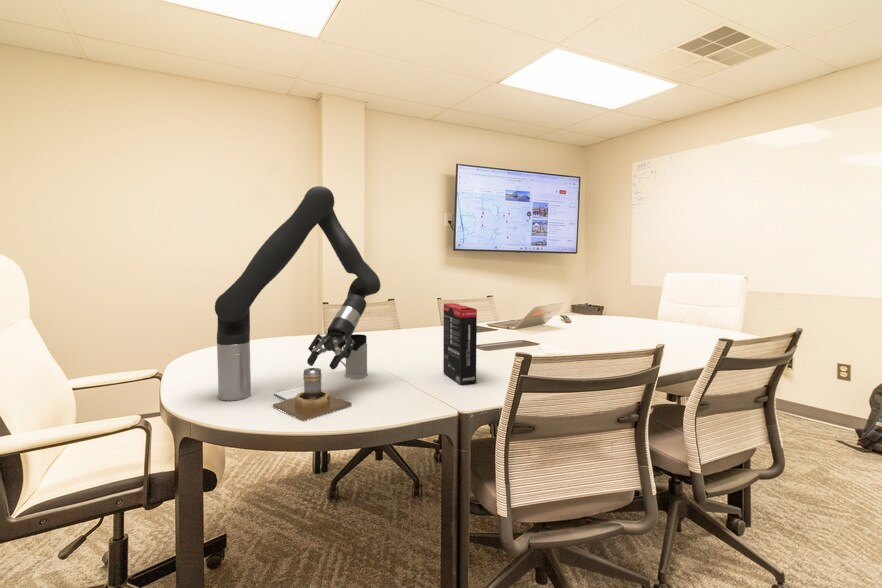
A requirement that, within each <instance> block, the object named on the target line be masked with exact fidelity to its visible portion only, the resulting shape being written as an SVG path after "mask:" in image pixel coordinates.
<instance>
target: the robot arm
mask: <svg viewBox="0 0 882 588" xmlns="http://www.w3.org/2000/svg"><path fill="white" fill-rule="evenodd" d="M334 207H335V197H334V194H333V192H332V191H331V190H330V188H328V187H326V186H321V185H318V186H312V187H311V188H309V189H308V190H307V192H306V193H305V194H304V196H303V199H302V200H301V202H300V203H299V205H297V208H296V209H295V210H294V212H292V214H291V215H290V216H289V218H287V219H286V221H284V222H283V223H282V224H280V226H279V227H278V228H277V229H276V230H275V231H274V232H272V234H271V235H269V236H268V238H267V239H266V240H265V241H264V243H262V245H261V246H260V248H258V250H257V251H256V253H254V255H253V257H252V259H250V261H249V263H248V265H247V266H246V268H245V269H244V271H243V272H242V274H241V275H240V276H239V277H238V278H237V279H236V280H235V281H234V282H233V283H232V284H231V285H230V286H229V287H228V288H227V289H226V290H225V291H224V292H223V293H222V294H220V295H219V296H218V297H217V299H216V300H215V302H214V311H215V314H216V315H217V329H216V330H217V331H216V350H217V351H216V352H217V353H216V354H217V355H216V356H217V387H218V390H217V391H218V399H219V400H221V401H225V400H227V401H239V400H240V401H241V400H244V399H246V398H249V397H251V395H252V386H251V385H252V384H251V383H252V379H251V378H252V377H251V375H252V373H251V343H250V342H251V339H250V337H251V335H250V334H251V317H250V315H251V313H250V312H251V311H250V310H251V309H250V308H251V306H252V304H253V303H254V301H255V300H256V298H258V295H260V294H261V292H262V290H263V289H265V287H266V286H267V285H268V284H270V283H271V281H273V280H274V279H275V278H276V277H277V276H278V275H279V274H280V273H281V272H282V271H283V270H284V268H285V267H286V266H287V265H288V263H289V262H290V261H291V260H292V259H293V258H294V257H295V255H296V254H297V252H298V251H299V249H300V248H301V246H302V245H303V243H304V242H305V240H306V239H307V237H308V235H309V234H310V232H311V231H312V230H313V229H314V228H315V227H316V226H317V225H318V226H319V228H320V229H321V231H322V232H323V234H324V235H325V237H326V239H327V240H328V242H329V243H330V246H331V248H332V249H333V251H334V253H335V254H336V257H337V258H338V260H339V262H340V264H341V265H342V267H343V269H344V271H345V272H346V273H347V274H350V275H351V274H353V275H355V277H356V278H355V279H354V280H353V281H352V282H351V284H350V285H349V288H348V291H347V296H346V299H345V300H344V302H343V303H342V305H341V307H340V309H338V311H337V312H336V314H335V315H334V318H333V319H332V321H331V322H330V324H329V326H328V328H327V333H326V335H324V336H323V335H321V334H320V333H319V334H316V336H315V337H314V339H313V340H312V341H311V343H310V345H309V346H308V349H307V350H309V351H310V355H309V356H308V358H307V361H306V363H307V364H308V366H309V367H310V366H311V367H312V366H314V365H315V362H316V360H317V359H318V357H319V356H320V355H322V353H323V354H325V353H326V352H336V355H334V356H333V358H332V359H331V361H330V363H329V365H328V366H329V368H330V369H331V370H336V369H337V367H338V366H339V364H340V363H341V362H340V361H342V360H343V359H345V360H346V359H347V358H349V356H350V354H351V351H352V349H353V347H354V345H355V342H354V341H353V339H352V338H350V337H351V336H352V335H354V334H353V333H354V332H355V329H357V326H358V325H359V322H360V319H361V317H362V315H363V314H364V312H365V310H366V307H367V301H366V299H365V298H366V297H369V296H371V295H372V296H373V295H374V294H378V292H379V291H380V290H381V285H382V284H381V281H380V277H379V276H378V274H376V272H375V271H374V270H373V269H372V268H371V266H369V264H367V262H366V261H365V260H364V258H363V257H362V255H361V253H360V251H359V250H358V248H357V246H356V244H355V243H354V241H353V239H352V238H351V237H350V236H349V234H348V233H347V232H346V231H345V229H344V227H343V226H342V225H341V222H340V221H339V219H338V217H337V215H336V212H335V210H334ZM343 346H344V349H343ZM346 352H347V353H346Z"/></svg>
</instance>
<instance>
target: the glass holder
mask: <svg viewBox="0 0 882 588" xmlns="http://www.w3.org/2000/svg"><path fill="white" fill-rule="evenodd" d="M350 338H352V339H353V341H354V342H355V345H354V347H353V349H352V351H351V354H350V356H349V358H347V359H346V358H345V363H344V361H342V360H341V361H340V362H339V363H341V364H342V365H343V366H344V367H345V374H344V376H345V377H346V378H345V377H344V378H345V379H348V378H350V379H351V380H362V379H365V377H366V378H367V376H368V377H369V373H368V343H367V335H365V334H362V333H361V334H357V333H356V334H352V336H351V337H350ZM344 347H345V345H344V346H343V347H342V349H344ZM346 353H347V352H346ZM334 354H335V355H334V356H336V352H334ZM361 378H362V379H361Z"/></svg>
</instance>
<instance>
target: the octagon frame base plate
mask: <svg viewBox="0 0 882 588" xmlns="http://www.w3.org/2000/svg"><path fill="white" fill-rule="evenodd" d="M330 394H331V393H330V392H327V391H325V390H322V389H321V398H317V399H304V392H301V393H298V394H297V395H296V397H295V398H294V399H290V400H287V401H283V400H282V401H279V402H275V403H272V408H273V407H275V408H274V409H276V408H277V409H276V410H278V409H280V410H282V411H284V412H286V413H285V414H287V413H288V414H287V415H289V414H290V415H289V416H291V415H292V417H293V416H295V417H296V418H295V417H294V418H295V419H298V420H299V421H302V420H303V421H302V422H305V421H304V420H306V421H308V420H307V419H309V420H311V419H310V418H312V419H315V418H318V417H317V416H319V417H321V416H320V415H322V416H324V415H323V414H325V415H327V413H328V414H331V413H334V412H333V411H335V412H337V410H338V411H340V409H341V410H344V409H347V407H348V408H350V406H351V407H352V405H353V404H352V402H350V401H347V400H345V399H342V398H339V397H336V396H333V395H332V394H331V395H330ZM280 410H279V411H280ZM282 411H281V412H282ZM284 412H283V413H284ZM330 412H331V413H330ZM314 417H315V418H314Z"/></svg>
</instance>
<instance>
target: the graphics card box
mask: <svg viewBox="0 0 882 588" xmlns="http://www.w3.org/2000/svg"><path fill="white" fill-rule="evenodd" d="M477 311H478V310H477V308H474V307H470V306H466V305H463V304H459V303H453V302H451V303H450V302H448V303H443V328H442V329H443V339H442V340H443V341H442V343H443V347H442V348H443V363H442V365H443V374H445V375H446V376H447V377H449V378H450V379H452V380H453V381H454V382H456V383H457V384H459V385H460V386H465V385H471V384H476V383H477V341H478V340H477V335H478V334H477V333H478V332H477V331H478V329H477V327H478V326H477V325H478V323H477V322H478V321H477V318H478V315H477V314H478V312H477Z"/></svg>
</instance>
